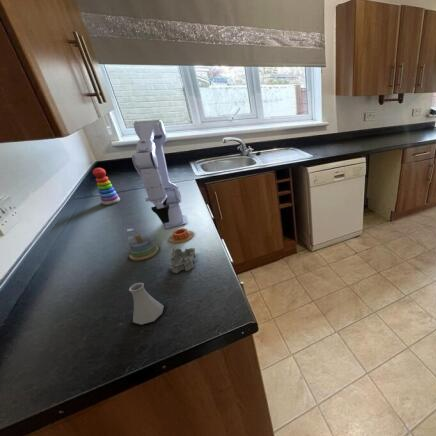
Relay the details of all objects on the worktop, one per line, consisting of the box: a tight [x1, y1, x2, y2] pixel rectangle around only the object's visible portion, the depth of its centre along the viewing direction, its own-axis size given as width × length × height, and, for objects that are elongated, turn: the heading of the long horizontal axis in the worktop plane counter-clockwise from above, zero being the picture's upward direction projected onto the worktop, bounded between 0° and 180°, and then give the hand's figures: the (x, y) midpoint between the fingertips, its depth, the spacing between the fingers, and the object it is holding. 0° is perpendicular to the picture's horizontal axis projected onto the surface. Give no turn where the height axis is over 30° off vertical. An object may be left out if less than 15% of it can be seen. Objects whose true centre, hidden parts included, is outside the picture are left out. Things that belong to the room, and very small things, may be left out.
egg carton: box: [168, 247, 196, 274], centre depth 93 cm, size 11×8×4 cm
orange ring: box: [172, 228, 189, 240], centre depth 109 cm, size 5×5×2 cm
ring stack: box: [128, 233, 160, 262], centre depth 98 cm, size 9×9×8 cm
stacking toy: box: [92, 167, 121, 206], centre depth 138 cm, size 8×8×19 cm
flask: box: [128, 282, 165, 326], centre depth 71 cm, size 7×7×10 cm
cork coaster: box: [168, 230, 195, 244], centre depth 109 cm, size 9×9×1 cm
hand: (165, 218), depth 104 cm, fingers open, 7 cm apart
